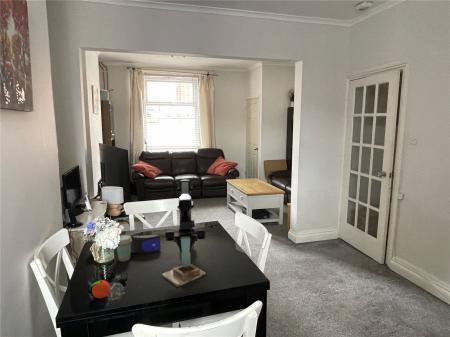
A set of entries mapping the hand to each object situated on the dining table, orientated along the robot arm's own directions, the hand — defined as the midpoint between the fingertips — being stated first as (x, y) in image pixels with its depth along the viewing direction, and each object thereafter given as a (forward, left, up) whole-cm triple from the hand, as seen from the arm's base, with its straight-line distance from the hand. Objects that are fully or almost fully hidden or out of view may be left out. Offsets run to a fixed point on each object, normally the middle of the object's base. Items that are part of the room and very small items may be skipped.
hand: (185, 252), depth 135 cm
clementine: (+35, -12, -13) cm, 39 cm away
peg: (-1, -1, -7) cm, 7 cm away
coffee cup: (+13, -39, -13) cm, 43 cm away
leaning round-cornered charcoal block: (0, -40, -13) cm, 42 cm away
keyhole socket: (-1, -3, -13) cm, 13 cm away
